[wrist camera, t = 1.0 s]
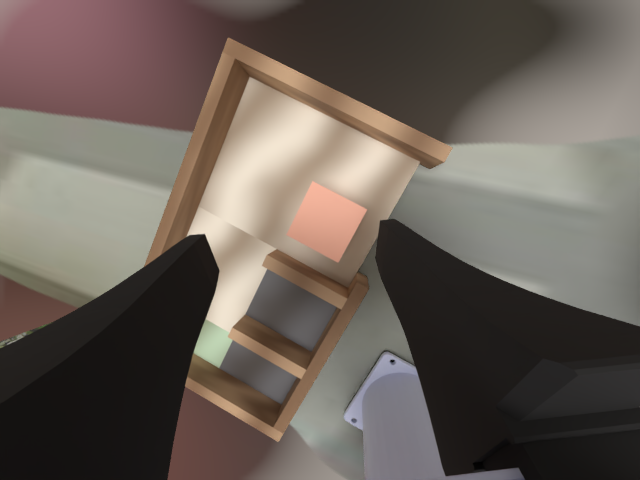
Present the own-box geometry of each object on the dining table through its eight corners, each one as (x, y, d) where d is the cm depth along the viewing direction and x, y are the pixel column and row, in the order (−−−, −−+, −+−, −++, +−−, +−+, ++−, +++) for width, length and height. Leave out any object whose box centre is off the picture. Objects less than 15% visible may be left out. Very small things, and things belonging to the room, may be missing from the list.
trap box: (436, 156, 18) (452, 147, 15) (287, 412, 24) (278, 441, 21) (247, 62, 19) (228, 37, 16) (144, 328, 24) (115, 344, 22)
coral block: (364, 208, 19) (367, 209, 15) (341, 251, 20) (338, 262, 16) (320, 185, 19) (312, 180, 15) (299, 229, 20) (286, 234, 16)
